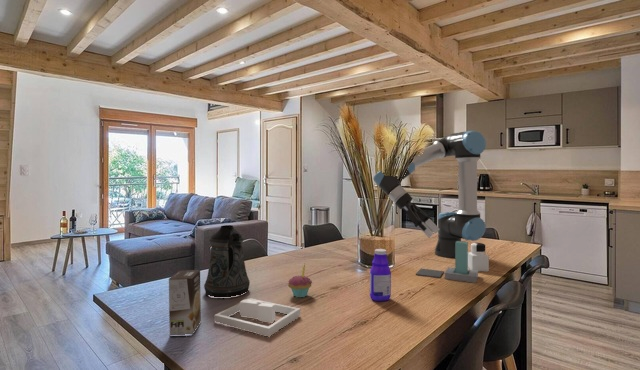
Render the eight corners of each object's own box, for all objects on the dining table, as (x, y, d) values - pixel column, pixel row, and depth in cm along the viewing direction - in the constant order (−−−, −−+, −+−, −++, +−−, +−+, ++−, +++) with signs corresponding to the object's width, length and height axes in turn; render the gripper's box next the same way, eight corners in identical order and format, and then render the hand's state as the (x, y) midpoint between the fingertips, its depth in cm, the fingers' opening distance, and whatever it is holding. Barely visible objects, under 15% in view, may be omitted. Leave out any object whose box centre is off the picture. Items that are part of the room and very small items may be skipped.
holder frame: (249, 305, 119) (249, 298, 119) (300, 316, 110) (300, 308, 109) (214, 323, 105) (214, 314, 105) (269, 337, 95) (268, 328, 95)
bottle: (387, 295, 128) (387, 247, 127) (393, 301, 122) (393, 251, 122) (367, 297, 126) (367, 248, 126) (372, 302, 121) (372, 252, 120)
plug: (456, 275, 152) (456, 240, 151) (467, 277, 150) (467, 241, 149) (455, 278, 148) (455, 242, 148) (466, 279, 146) (466, 243, 145)
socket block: (448, 272, 156) (448, 267, 156) (478, 276, 150) (478, 270, 150) (444, 278, 147) (444, 272, 147) (475, 282, 142) (476, 276, 142)
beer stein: (225, 282, 144) (224, 221, 143) (264, 289, 136) (263, 224, 135) (194, 295, 129) (193, 227, 128) (236, 303, 121) (235, 231, 120)
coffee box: (193, 336, 96) (192, 278, 96) (169, 337, 96) (167, 279, 95) (201, 322, 106) (200, 269, 105) (179, 323, 105) (178, 270, 105)
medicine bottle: (483, 267, 165) (483, 241, 164) (488, 271, 158) (489, 244, 157) (467, 267, 165) (467, 241, 165) (472, 271, 158) (472, 244, 158)
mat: (420, 269, 162) (420, 268, 162) (443, 272, 157) (443, 271, 157) (415, 275, 153) (415, 273, 153) (439, 278, 148) (439, 277, 148)
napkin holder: (231, 317, 111) (230, 299, 110) (265, 309, 117) (264, 292, 117) (249, 335, 98) (249, 314, 98) (286, 324, 104) (285, 305, 104)
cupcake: (315, 293, 131) (314, 261, 131) (306, 301, 123) (306, 266, 123) (293, 290, 134) (293, 259, 133) (284, 298, 126) (283, 264, 125)
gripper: (402, 201, 172) (433, 234, 166) (386, 205, 150) (421, 243, 144) (413, 190, 170) (445, 224, 163) (398, 193, 148) (435, 231, 141)
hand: (434, 233), depth 153 cm, fingers open, 13 cm apart
